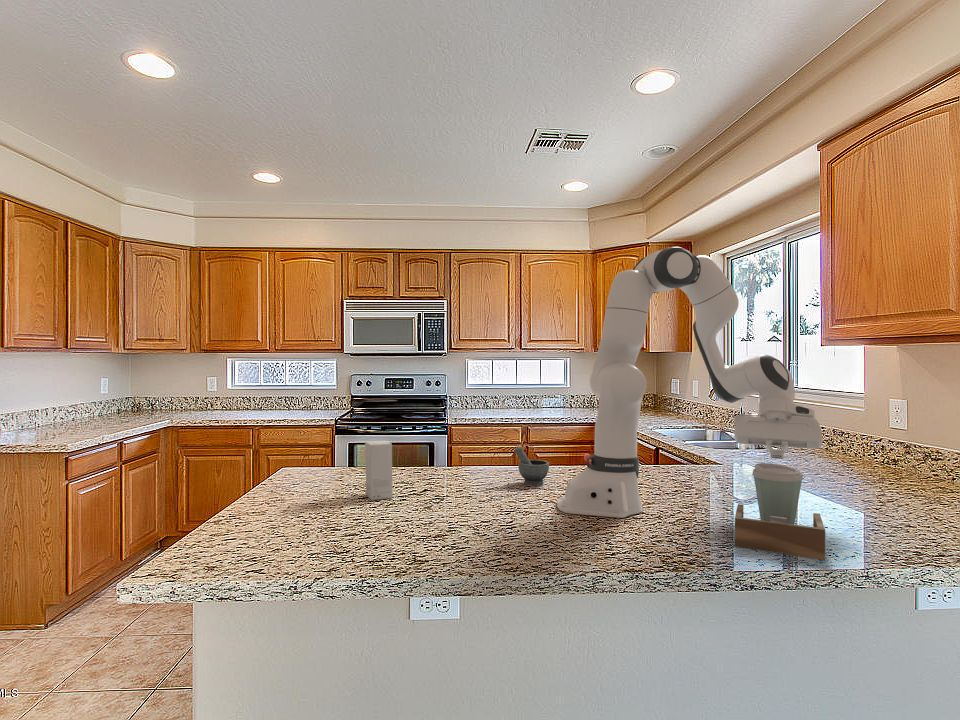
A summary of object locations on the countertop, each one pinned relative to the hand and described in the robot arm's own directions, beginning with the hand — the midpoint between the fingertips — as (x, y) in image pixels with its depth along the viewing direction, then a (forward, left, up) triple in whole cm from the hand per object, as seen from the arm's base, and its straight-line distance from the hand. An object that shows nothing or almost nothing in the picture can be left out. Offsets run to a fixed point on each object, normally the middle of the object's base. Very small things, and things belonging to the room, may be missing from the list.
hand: (776, 457), depth 139 cm
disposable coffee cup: (-5, -11, -15) cm, 20 cm away
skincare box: (-106, +9, -15) cm, 107 cm away
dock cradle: (-9, -21, -15) cm, 27 cm away
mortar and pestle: (-62, +30, -15) cm, 70 cm away
